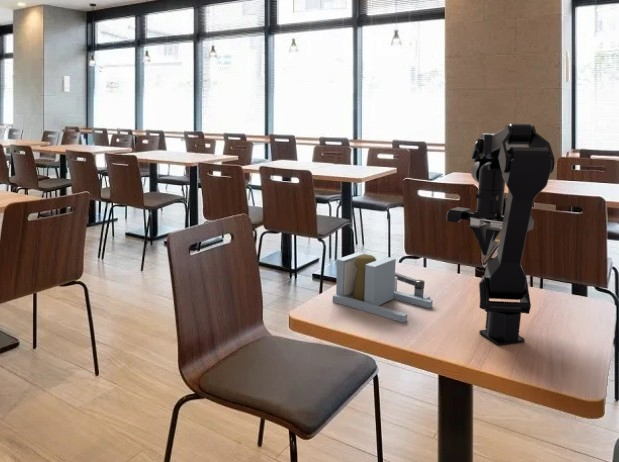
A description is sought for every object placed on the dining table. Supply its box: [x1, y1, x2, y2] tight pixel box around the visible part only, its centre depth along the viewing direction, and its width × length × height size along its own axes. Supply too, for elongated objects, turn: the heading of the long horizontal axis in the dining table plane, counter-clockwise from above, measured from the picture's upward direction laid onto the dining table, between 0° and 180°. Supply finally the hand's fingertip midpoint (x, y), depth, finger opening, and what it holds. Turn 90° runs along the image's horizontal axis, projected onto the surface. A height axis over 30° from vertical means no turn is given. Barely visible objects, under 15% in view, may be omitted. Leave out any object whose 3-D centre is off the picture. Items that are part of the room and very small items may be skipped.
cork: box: [351, 254, 377, 302], centre depth 129 cm, size 6×6×11 cm
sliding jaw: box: [364, 256, 397, 306], centre depth 126 cm, size 3×9×10 cm, turn 140°
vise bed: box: [332, 251, 433, 323], centre depth 128 cm, size 20×18×10 cm
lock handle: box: [395, 272, 425, 289], centre depth 134 cm, size 13×2×2 cm, turn 37°
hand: (485, 255), depth 125 cm, fingers closed
